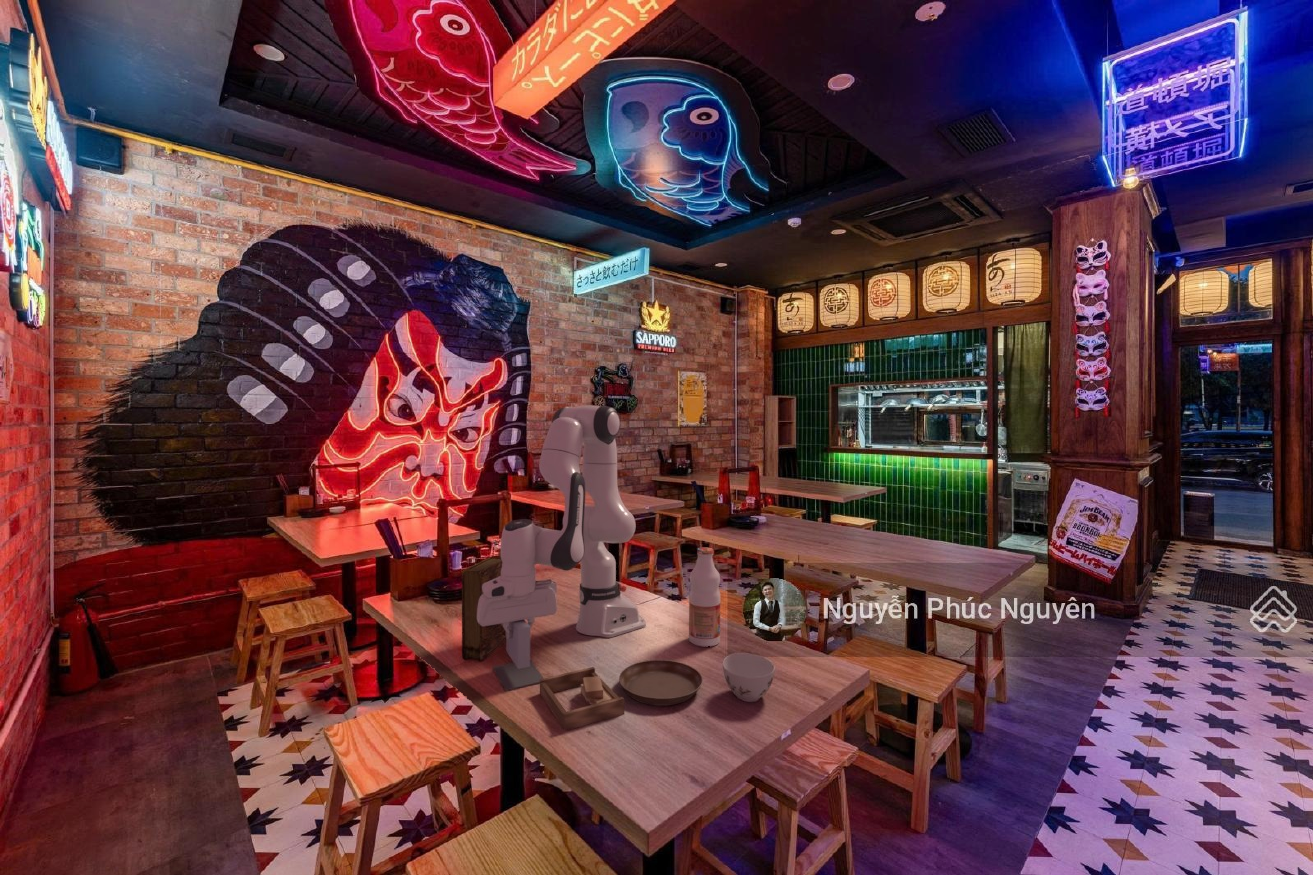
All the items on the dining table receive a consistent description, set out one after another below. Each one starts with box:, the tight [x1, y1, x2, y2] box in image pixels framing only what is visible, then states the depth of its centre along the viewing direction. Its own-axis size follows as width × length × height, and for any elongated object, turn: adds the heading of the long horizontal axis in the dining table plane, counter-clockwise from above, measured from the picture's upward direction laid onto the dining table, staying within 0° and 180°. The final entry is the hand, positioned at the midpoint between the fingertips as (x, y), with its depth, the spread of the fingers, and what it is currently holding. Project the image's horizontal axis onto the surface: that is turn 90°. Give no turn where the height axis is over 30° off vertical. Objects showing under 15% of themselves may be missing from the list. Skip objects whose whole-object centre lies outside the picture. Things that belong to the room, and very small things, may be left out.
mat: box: [492, 659, 545, 692], centre depth 141 cm, size 10×14×1 cm
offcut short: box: [583, 675, 603, 701], centre depth 128 cm, size 4×7×2 cm, turn 12°
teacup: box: [722, 652, 776, 703], centre depth 131 cm, size 15×12×8 cm
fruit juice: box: [688, 546, 722, 648], centre depth 163 cm, size 9×9×28 cm
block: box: [505, 619, 531, 669], centre depth 140 cm, size 3×12×10 cm, turn 29°
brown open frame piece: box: [539, 666, 625, 732], centre depth 127 cm, size 14×18×4 cm
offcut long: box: [580, 684, 613, 705], centre depth 128 cm, size 4×10×2 cm, turn 30°
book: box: [461, 556, 506, 662], centre depth 156 cm, size 16×6×25 cm, turn 168°
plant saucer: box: [618, 659, 704, 707], centre depth 134 cm, size 21×21×3 cm
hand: (517, 636), depth 140 cm, fingers closed on block, 3 cm apart
